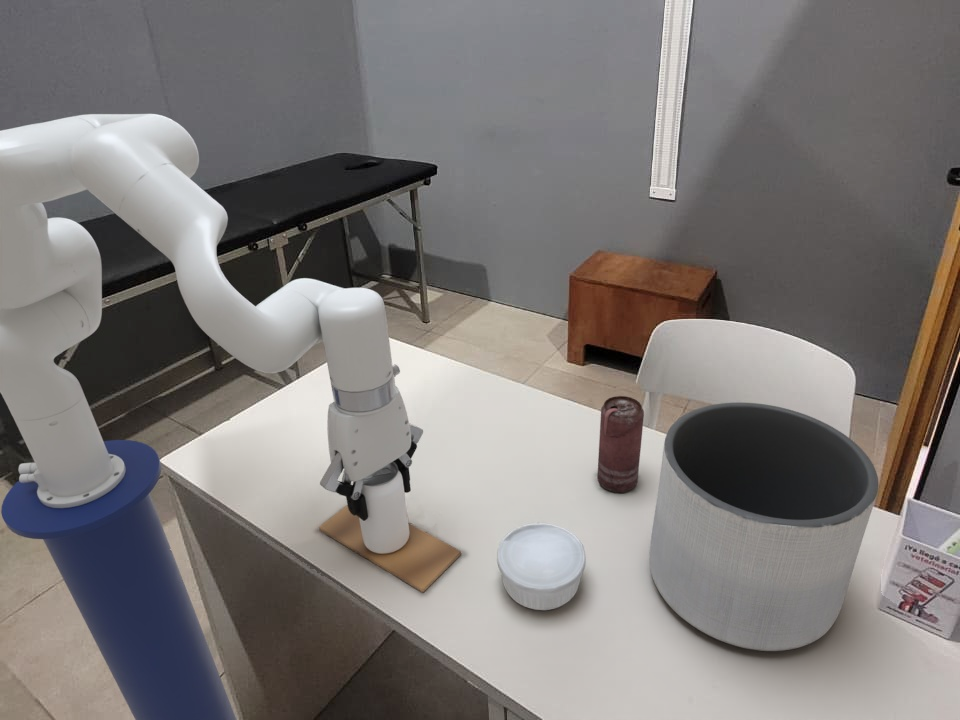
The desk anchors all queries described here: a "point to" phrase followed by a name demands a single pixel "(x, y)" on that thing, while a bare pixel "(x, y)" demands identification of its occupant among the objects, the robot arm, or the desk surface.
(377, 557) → the board
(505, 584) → the ramekin
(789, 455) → the planter
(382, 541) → the can
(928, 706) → the desk surface
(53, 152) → the robot arm
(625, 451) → the can
